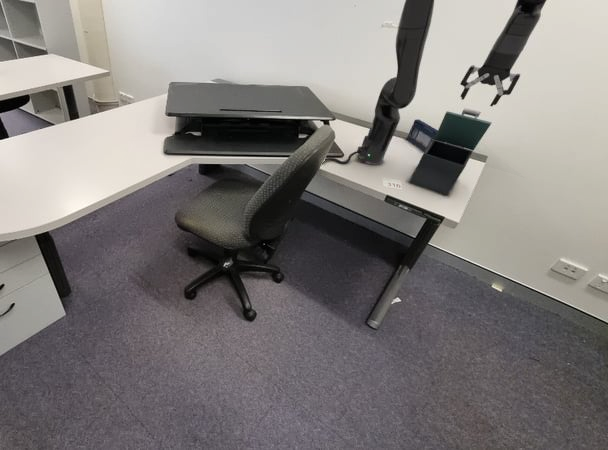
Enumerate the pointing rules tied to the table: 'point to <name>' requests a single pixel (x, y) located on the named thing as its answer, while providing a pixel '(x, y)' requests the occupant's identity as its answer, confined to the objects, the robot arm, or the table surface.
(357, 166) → the table surface
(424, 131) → the vhs cassette tape
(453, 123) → the bin lid
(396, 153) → the table surface
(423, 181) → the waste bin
